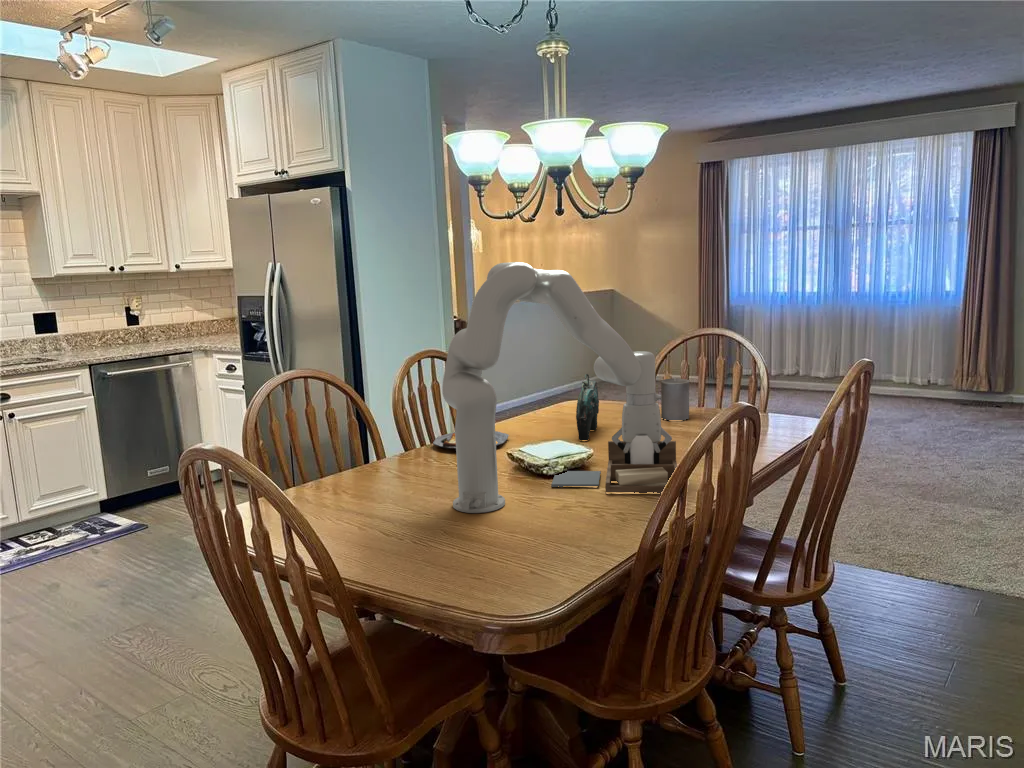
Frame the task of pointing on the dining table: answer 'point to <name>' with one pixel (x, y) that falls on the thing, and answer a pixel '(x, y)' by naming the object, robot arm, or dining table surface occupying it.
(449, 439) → the food plate
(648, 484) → the offcut lower
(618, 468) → the open wooden box
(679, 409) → the pillar candle
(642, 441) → the can
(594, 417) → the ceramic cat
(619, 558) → the dining table surface
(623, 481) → the offcut upper
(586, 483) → the mat
